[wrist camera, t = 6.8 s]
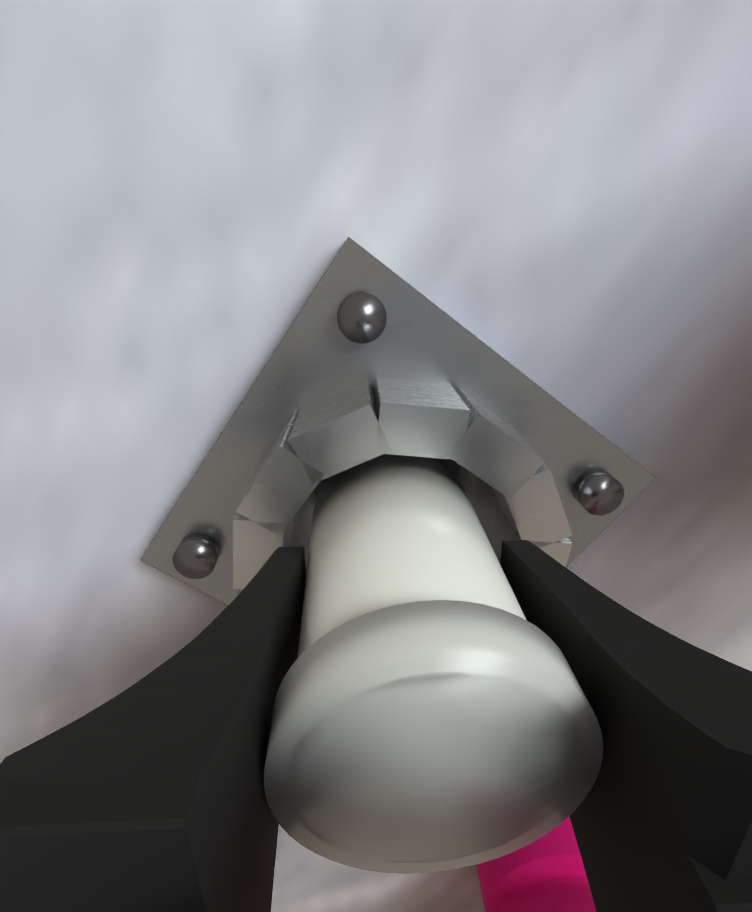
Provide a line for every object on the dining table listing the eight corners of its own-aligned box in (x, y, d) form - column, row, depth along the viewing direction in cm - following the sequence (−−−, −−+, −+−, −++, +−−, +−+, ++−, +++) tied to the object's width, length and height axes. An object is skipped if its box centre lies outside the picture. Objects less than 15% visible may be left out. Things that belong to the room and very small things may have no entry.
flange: (641, 467, 15) (710, 517, 12) (422, 688, 18) (435, 772, 15) (349, 238, 12) (347, 231, 9) (150, 545, 15) (101, 613, 12)
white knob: (502, 453, 13) (658, 670, 7) (456, 600, 15) (542, 876, 9) (312, 426, 12) (280, 638, 6) (292, 584, 14) (251, 870, 8)
